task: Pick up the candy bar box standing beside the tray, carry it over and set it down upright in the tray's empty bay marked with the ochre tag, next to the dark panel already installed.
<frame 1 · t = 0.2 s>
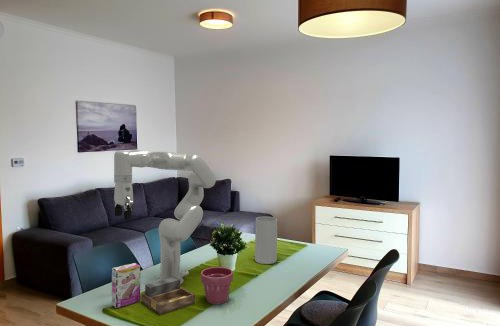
hand: (122, 217, 174), 36 cm above the table, fingers open, 9 cm apart
cylinder vase: (265, 261, 228), on the table
plant pot: (216, 300, 174), on the table
tray: (168, 302, 170), on the table
candy bar box: (126, 304, 169), on the table
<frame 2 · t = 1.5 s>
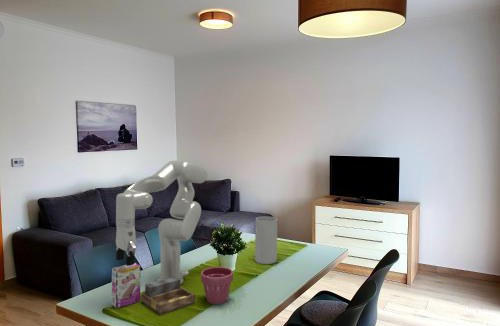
hand: (125, 262, 167), 18 cm above the table, fingers open, 9 cm apart
nothing on the table moved.
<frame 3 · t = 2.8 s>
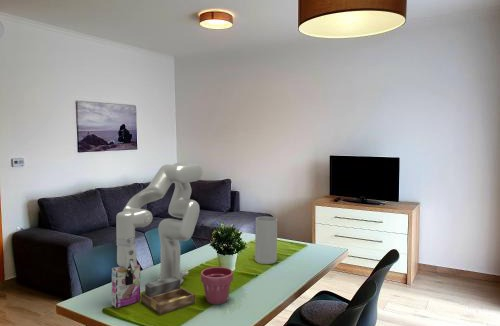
hand: (126, 282, 168), 9 cm above the table, fingers closed on candy bar box, 5 cm apart
candy bar box: (126, 304, 169), on the table, touching gripper
everything else where it was.
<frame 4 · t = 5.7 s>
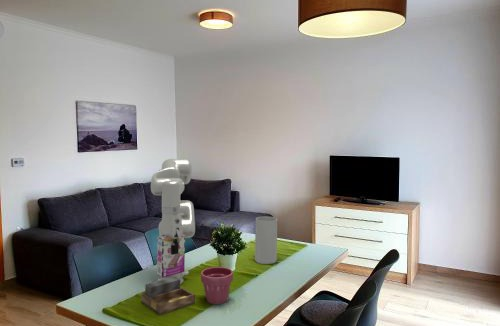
hand: (171, 251, 166), 23 cm above the table, fingers closed on candy bar box, 5 cm apart
candy bar box: (171, 274, 167), point 14 cm above the table, touching gripper
everything else where it was.
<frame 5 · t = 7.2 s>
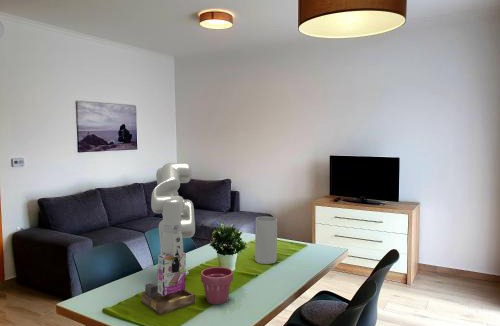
hand: (171, 269, 167), 16 cm above the table, fingers closed on candy bar box, 5 cm apart
candy bar box: (171, 292, 167), point 6 cm above the table, touching gripper
everything else where it was.
when the fingers open (11 cm above the table, at t = 8.5 s): candy bar box stays where it is, resting on tray.
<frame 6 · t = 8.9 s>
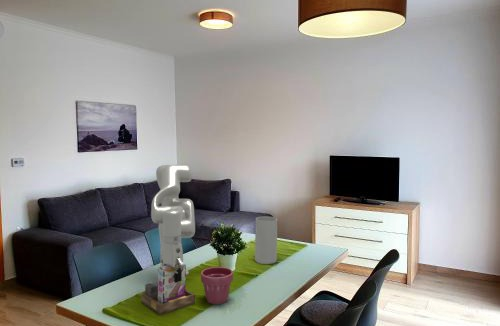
hand: (171, 278, 167), 12 cm above the table, fingers open, 9 cm apart
candy bar box: (171, 303, 168), point 1 cm above the table, touching tray
everything else where it was.
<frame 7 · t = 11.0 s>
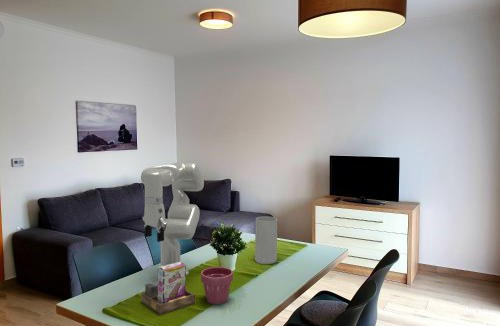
hand: (154, 238, 171), 27 cm above the table, fingers open, 9 cm apart
nothing on the table moved.
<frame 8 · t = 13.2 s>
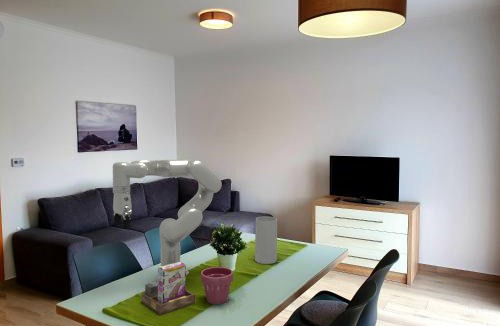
hand: (121, 226, 181), 30 cm above the table, fingers open, 9 cm apart
nothing on the table moved.
at the end: candy bar box inside the target area on the tray (0.1 cm from its centre), point 0.8 cm above the tray's base; candy bar box tilted 0°; the gripper is holding nothing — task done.
